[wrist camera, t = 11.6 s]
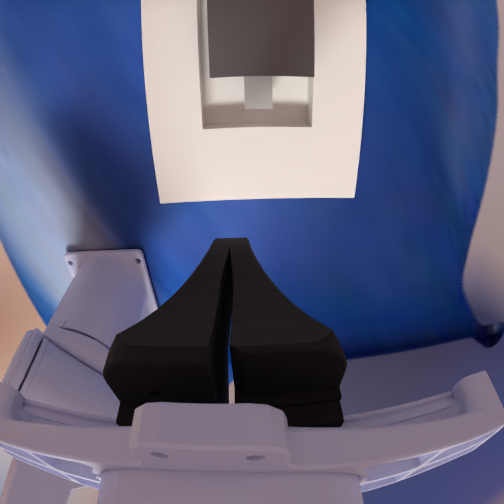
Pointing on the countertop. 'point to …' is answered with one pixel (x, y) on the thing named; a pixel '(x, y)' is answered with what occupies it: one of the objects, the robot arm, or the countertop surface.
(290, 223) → the countertop surface
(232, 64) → the plug
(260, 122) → the socket plate
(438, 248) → the countertop surface
